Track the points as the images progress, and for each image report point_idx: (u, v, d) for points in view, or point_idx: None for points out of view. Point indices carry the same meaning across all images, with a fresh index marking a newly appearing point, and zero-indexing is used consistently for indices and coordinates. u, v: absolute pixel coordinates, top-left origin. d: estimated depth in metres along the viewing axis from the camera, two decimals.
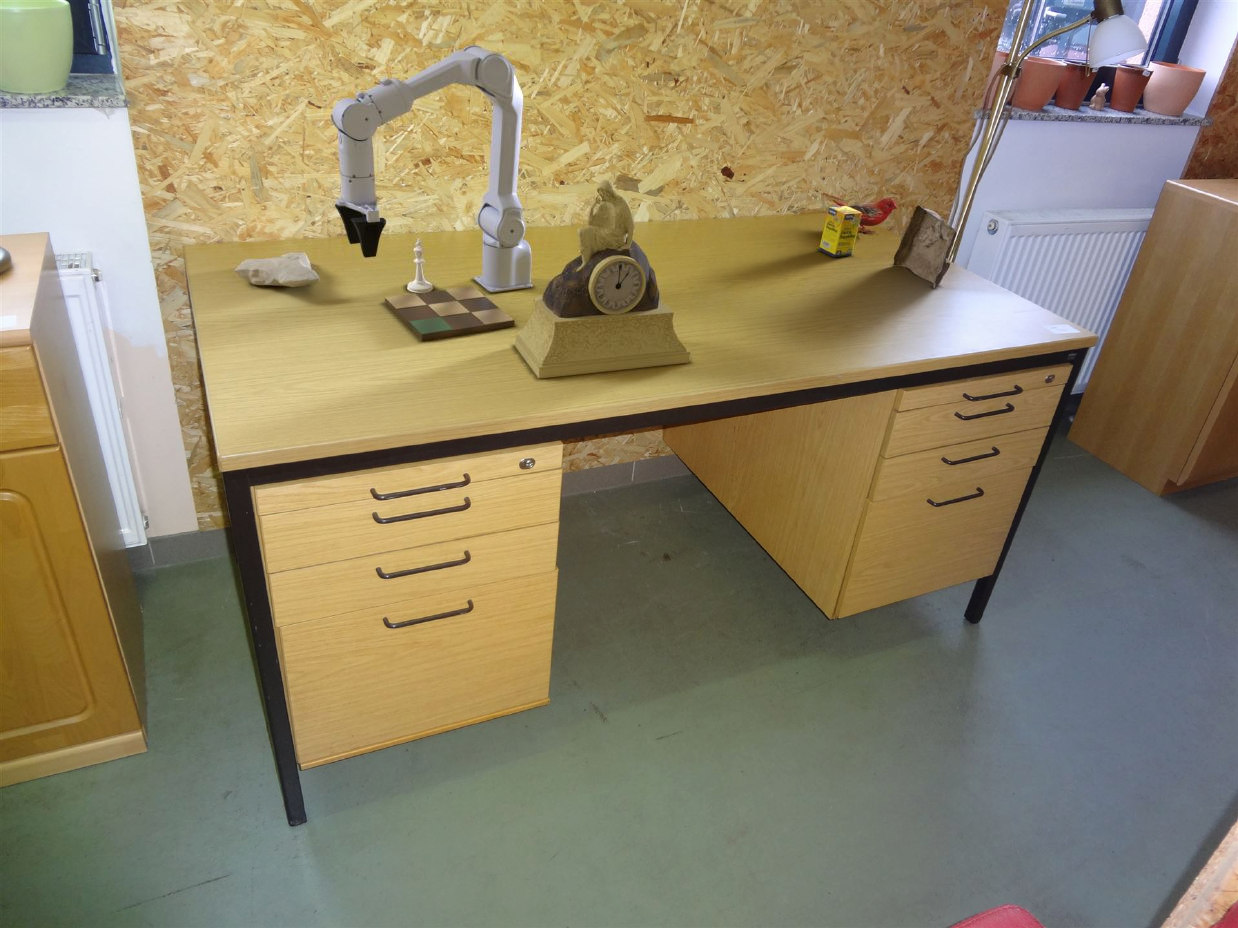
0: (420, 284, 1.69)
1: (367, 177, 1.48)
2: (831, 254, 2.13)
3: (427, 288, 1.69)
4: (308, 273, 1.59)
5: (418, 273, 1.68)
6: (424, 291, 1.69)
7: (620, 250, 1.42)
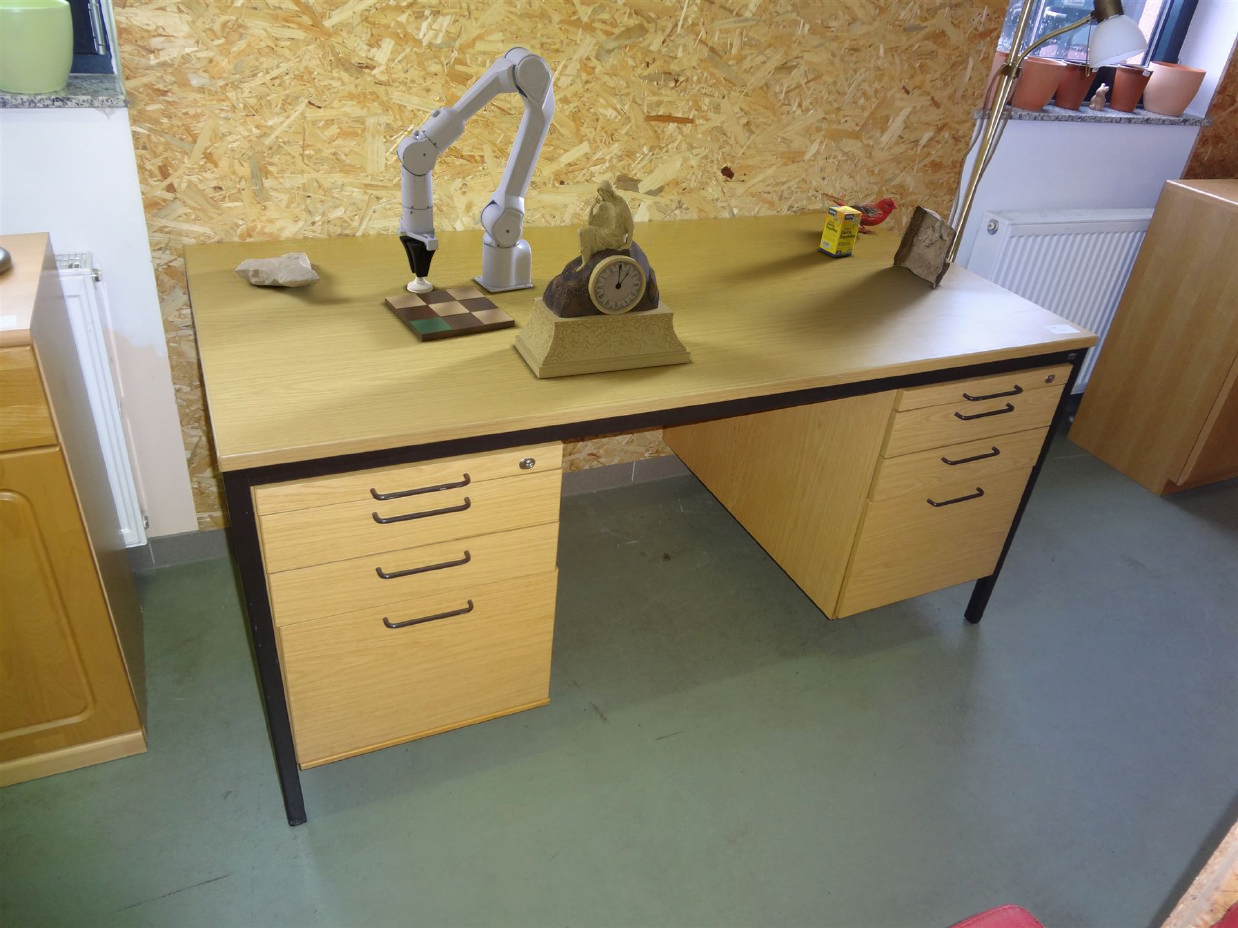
0: (420, 284, 1.69)
1: (427, 208, 1.60)
2: (831, 254, 2.13)
3: (427, 288, 1.69)
4: (308, 273, 1.59)
5: None
6: (424, 291, 1.69)
7: (620, 250, 1.42)
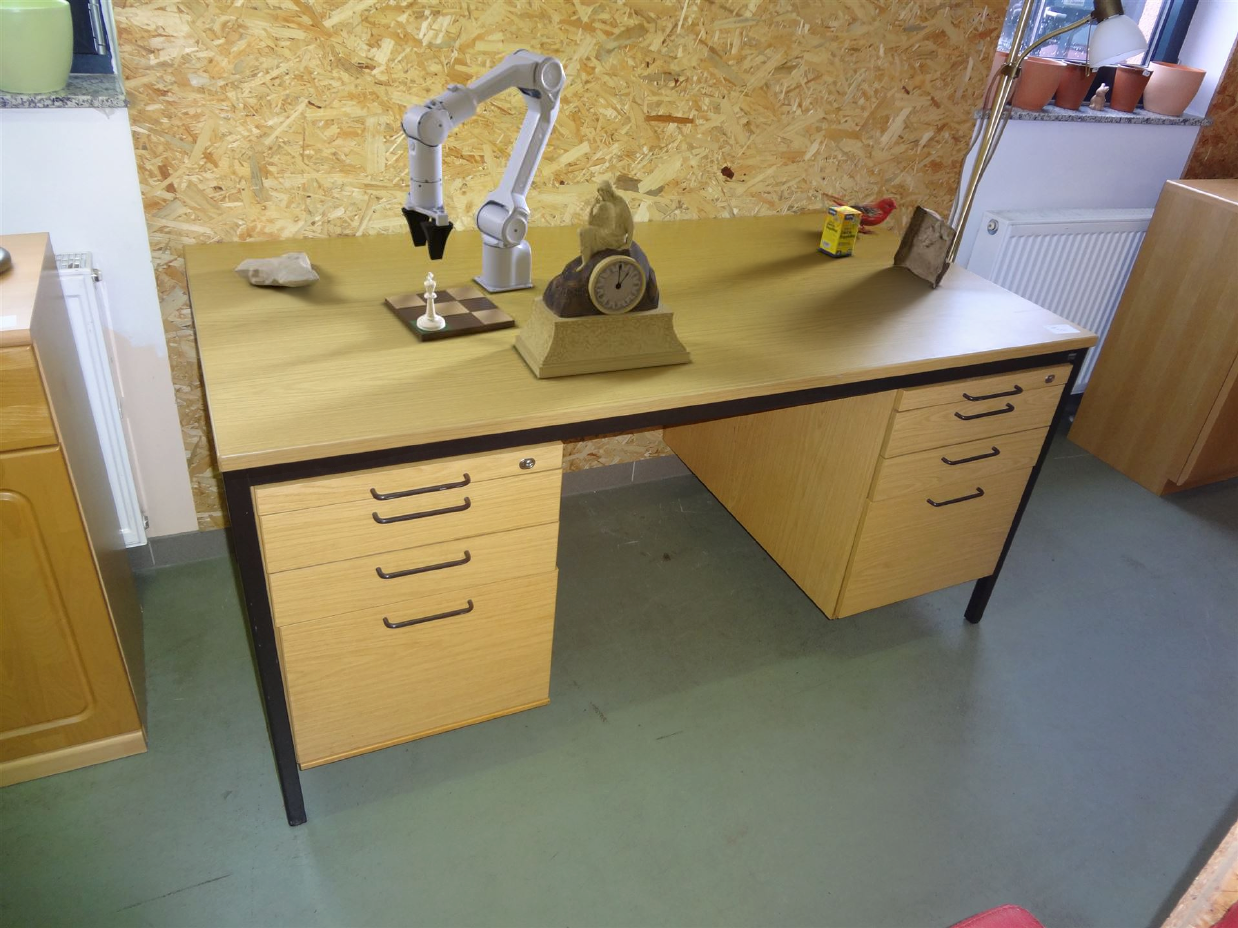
0: (431, 321, 1.51)
1: (436, 182, 1.53)
2: (831, 254, 2.13)
3: (439, 325, 1.51)
4: (308, 273, 1.59)
5: (429, 309, 1.50)
6: (435, 329, 1.51)
7: (620, 250, 1.42)
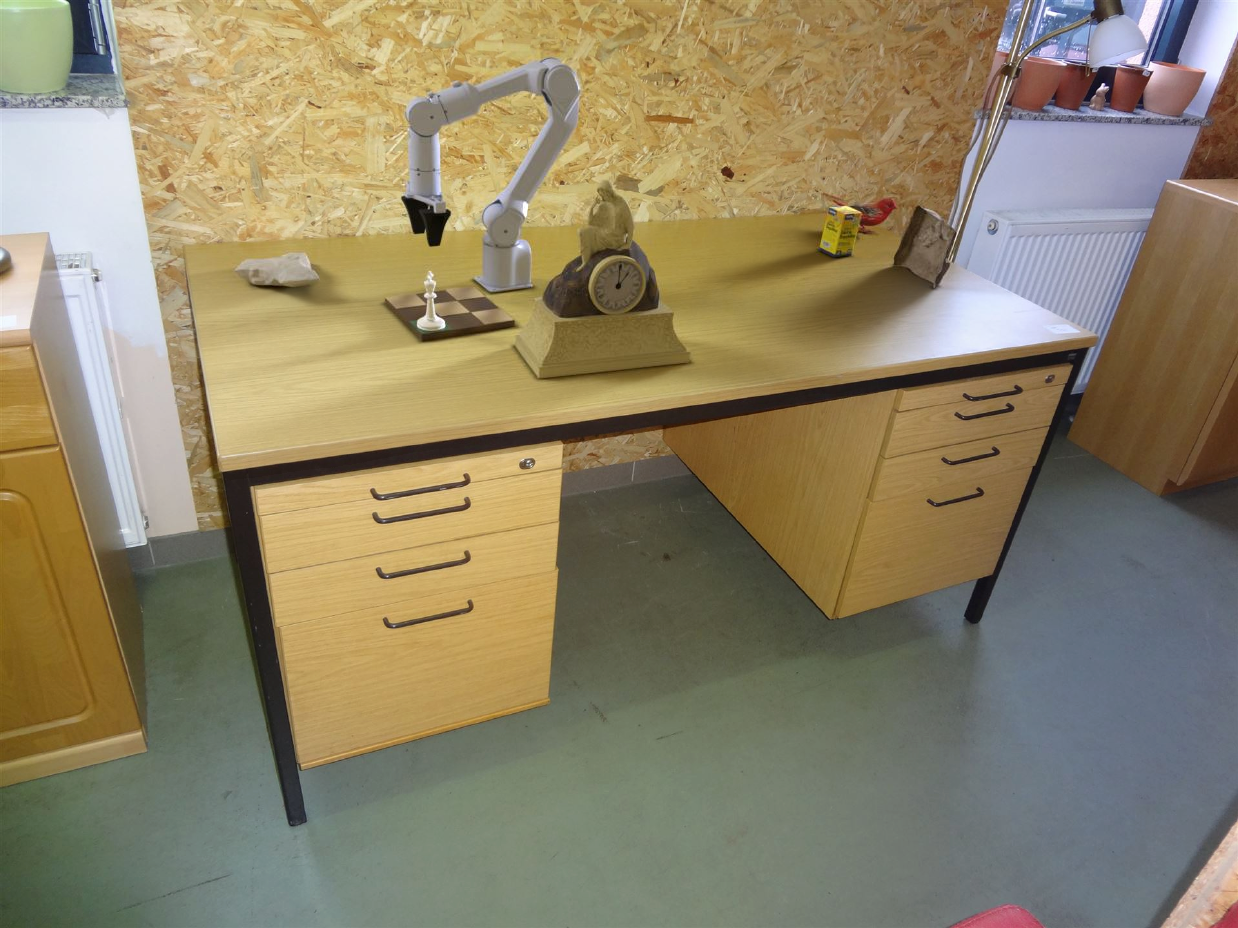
0: (431, 321, 1.51)
1: (434, 171, 1.59)
2: (831, 254, 2.13)
3: (439, 325, 1.51)
4: (308, 273, 1.59)
5: (429, 309, 1.51)
6: (435, 329, 1.51)
7: (620, 250, 1.42)
